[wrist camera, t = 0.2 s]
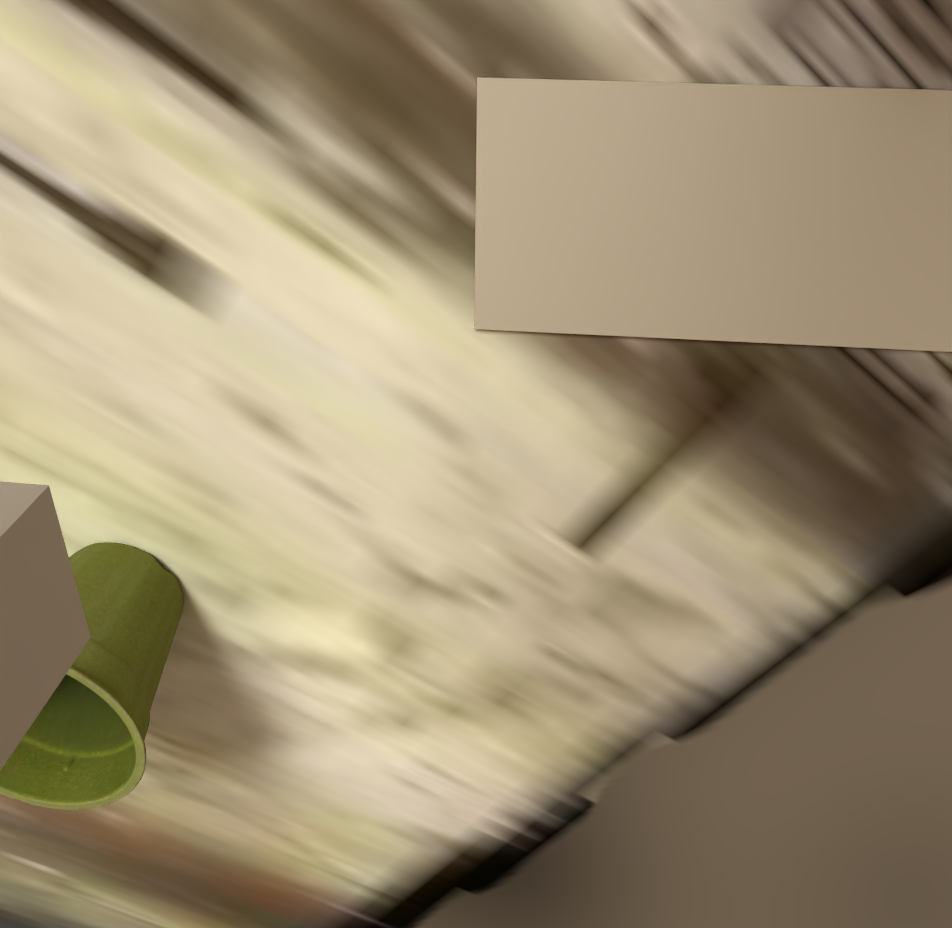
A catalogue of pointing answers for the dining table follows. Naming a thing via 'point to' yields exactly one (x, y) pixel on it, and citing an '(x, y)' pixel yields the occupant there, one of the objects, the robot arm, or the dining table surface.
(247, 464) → the dining table surface
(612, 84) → the mat
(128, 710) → the plant pot
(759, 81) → the dining table surface
